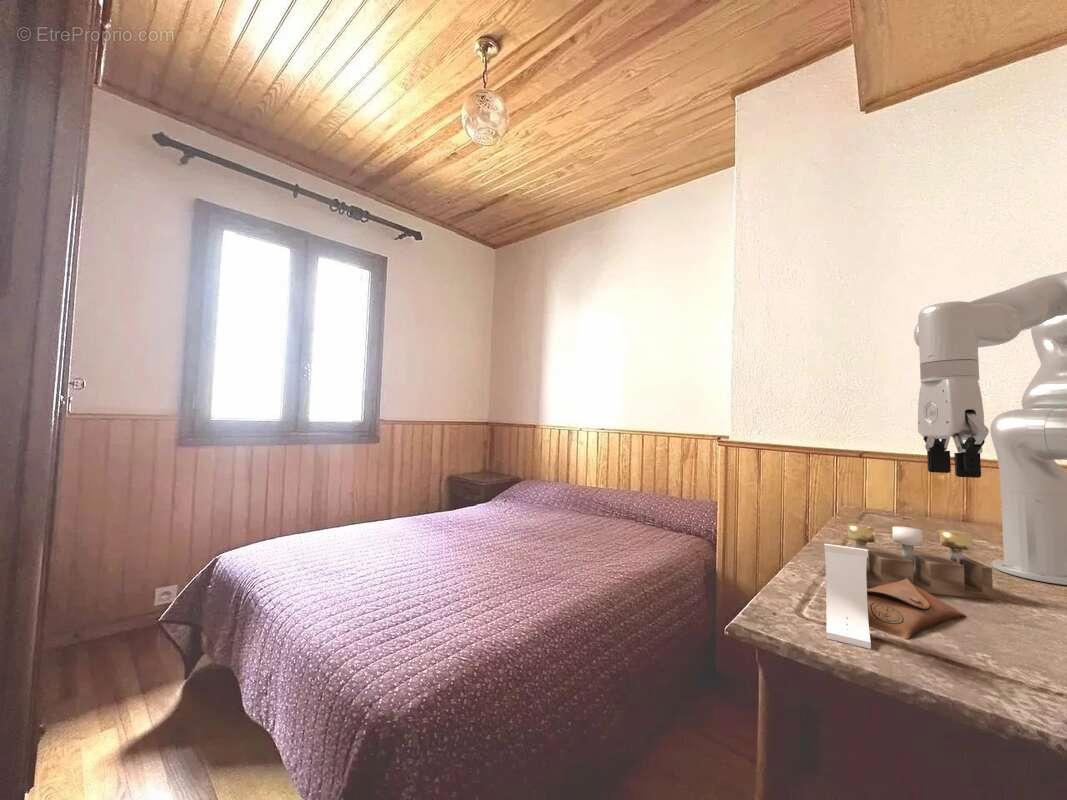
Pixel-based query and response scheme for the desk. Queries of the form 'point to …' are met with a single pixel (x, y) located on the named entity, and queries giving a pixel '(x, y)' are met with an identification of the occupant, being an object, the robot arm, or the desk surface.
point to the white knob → (907, 540)
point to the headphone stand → (847, 595)
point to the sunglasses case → (906, 609)
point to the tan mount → (930, 573)
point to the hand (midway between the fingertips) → (953, 473)
